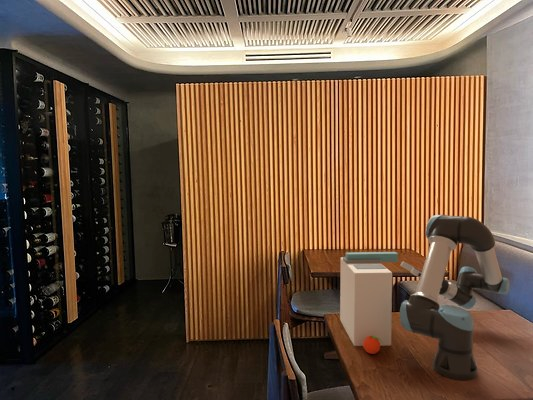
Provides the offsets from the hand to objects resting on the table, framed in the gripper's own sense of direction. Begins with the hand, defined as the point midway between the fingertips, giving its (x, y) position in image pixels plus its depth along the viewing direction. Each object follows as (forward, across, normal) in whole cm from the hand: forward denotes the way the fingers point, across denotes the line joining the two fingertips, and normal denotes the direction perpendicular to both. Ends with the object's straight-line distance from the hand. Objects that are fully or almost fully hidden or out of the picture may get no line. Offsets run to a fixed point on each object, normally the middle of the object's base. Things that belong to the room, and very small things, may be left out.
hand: (406, 266), depth 193 cm
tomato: (+6, -28, -37) cm, 47 cm away
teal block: (+16, 0, -6) cm, 17 cm away
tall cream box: (+4, -6, -36) cm, 37 cm away
